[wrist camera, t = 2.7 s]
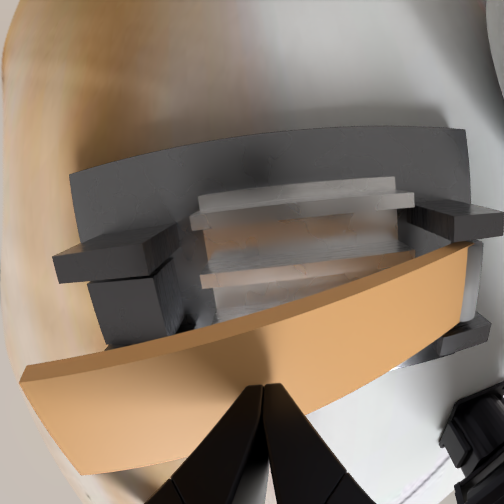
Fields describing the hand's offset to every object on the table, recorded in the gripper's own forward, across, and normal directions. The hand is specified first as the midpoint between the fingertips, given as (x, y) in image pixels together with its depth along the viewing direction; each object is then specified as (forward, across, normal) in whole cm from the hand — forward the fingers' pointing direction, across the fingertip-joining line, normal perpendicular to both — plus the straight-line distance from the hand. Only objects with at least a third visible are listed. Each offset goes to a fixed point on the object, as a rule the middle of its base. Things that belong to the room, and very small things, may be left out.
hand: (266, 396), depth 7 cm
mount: (+10, -1, 0) cm, 10 cm away
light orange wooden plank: (+3, -2, 0) cm, 3 cm away
